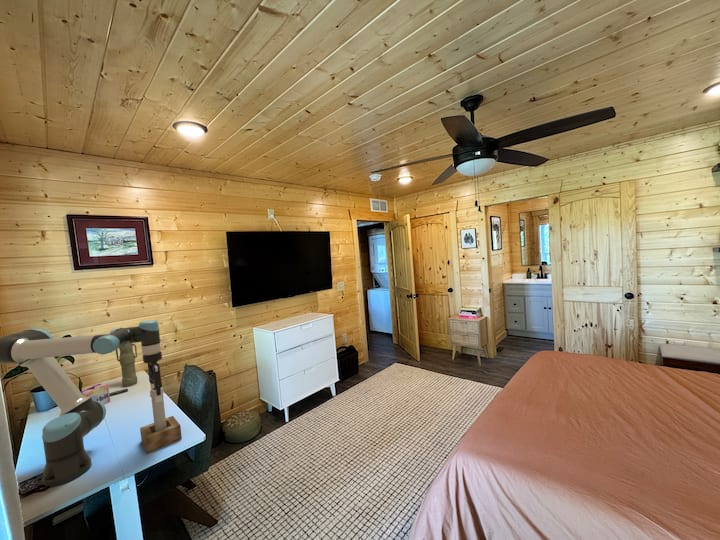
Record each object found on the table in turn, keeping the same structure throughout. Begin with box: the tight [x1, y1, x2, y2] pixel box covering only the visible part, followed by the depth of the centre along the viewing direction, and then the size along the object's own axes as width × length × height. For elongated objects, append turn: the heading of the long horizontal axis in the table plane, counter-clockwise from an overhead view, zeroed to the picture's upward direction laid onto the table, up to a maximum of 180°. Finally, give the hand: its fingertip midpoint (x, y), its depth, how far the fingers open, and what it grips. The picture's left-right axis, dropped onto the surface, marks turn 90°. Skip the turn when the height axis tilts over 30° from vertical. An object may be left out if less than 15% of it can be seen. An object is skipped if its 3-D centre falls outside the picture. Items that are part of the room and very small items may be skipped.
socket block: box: [139, 415, 183, 454], centre depth 148 cm, size 14×14×7 cm
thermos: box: [115, 343, 138, 388], centre depth 221 cm, size 9×12×35 cm
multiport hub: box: [109, 388, 129, 397], centre depth 208 cm, size 4×11×2 cm, turn 128°
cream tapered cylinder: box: [149, 378, 167, 432], centre depth 147 cm, size 6×6×30 cm
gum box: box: [80, 383, 111, 406], centre depth 187 cm, size 22×7×13 cm, turn 172°
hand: (157, 398), depth 147 cm, fingers open, 8 cm apart
